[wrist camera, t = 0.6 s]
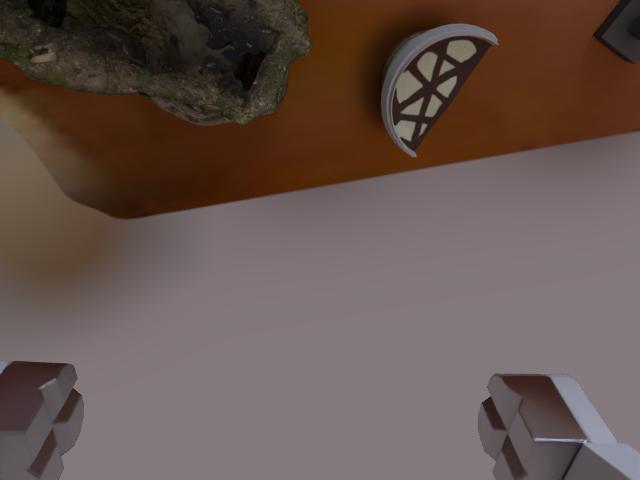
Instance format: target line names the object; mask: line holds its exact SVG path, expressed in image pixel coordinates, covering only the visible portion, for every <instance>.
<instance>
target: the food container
mask: <svg viewBox="0 0 640 480" xmlns="http://www.w3.org/2000/svg"><path fill="white" fill-rule="evenodd" d="M497 41H498V39H497V38H496V36H495V35H494V34H493V33H491V32H489V31H487V30H486V29H483V28H480V27H477V26H474V25H468V24H450V25H444V26H440V27H437V28H434V29H430V30H423V31H417V32H415V33H413V34H411V35H409V36H407V37H405V38H403V39H402V40H401V41H400V42H398V43H397V44H396V45H395V46H394V47H393V49H392V50H391V51H390V53H389V54H388V56H387V58H386V60H385V63H384V66H383V69H382V75H381V84H382V93H381V112H382V118H383V121H384V125H385V127H386V129H387V132H388V134H389V135H390V137H391V138H392V140H393V141H394V143H395V144H396V145H397V146H398V147H399V148H400V149H401V150H403V151H404V152H406V153H407V154H408V155H410V156H412V157H413V156H415V157H417V156H416V153H415V150H416V149H417V147H418V146H419V145H420V143H421V141H422V140H423V138H424V137H425V136H426V134H427V133H428V131H429V130H430V129H431V127H432V126H433V125H434V124H435V122H436V121H437V120H438V118H439V117H440V116H441V115H442V113H443V112H444V111H445V110H446V109H447V107H448V106H449V105H450V104H451V102H452V101H453V99H454V98H455V96H456V95H457V93H458V92H459V90H460V89H461V87H462V86H463V84H464V83H465V81H466V80H467V78H468V77H469V75H470V74H471V72H472V71H473V70H474V68H475V67H476V65H477V64H478V63H479V61H480V60H481V59H482V57H483V56H484V54H485V53H486V52H487V50H488V49H489V48H490V46H491V45H492V44H494V45H499V44H498V43H496V42H497Z"/></svg>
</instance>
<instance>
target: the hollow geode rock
mask: <svg viewBox="0 0 640 480" xmlns="http://www.w3.org/2000/svg"><path fill="white" fill-rule="evenodd" d="M307 33H308V16H307V14H306V12H305V11H304V10H303V9H302V7H301V6H300V4H299V3H298V2H297V0H0V57H1V58H6V59H8V60H10V61H11V62H12V63H13V64H14V65H16V66H17V67H18V68H20V69H21V70H22V71H23V72H24V73H25V74H26V75H27V76H28V77H30V78H32V79H33V80H37V81H44V82H47V83H49V84H51V85H63V86H65V87H66V88H69V89H72V90H75V91H79V92H86V93H96V94H110V95H125V94H128V93H132V92H133V93H139V94H141V95H143V96H145V97H147V98H151V99H152V100H153V102H154V103H155V104H156V105H157V106H159V107H160V108H161V109H162V110H165V111H168V112H171V113H172V114H173V115H175V116H178V117H180V118H182V119H184V120H186V121H188V122H191V123H194V124H197V125H204V126H213V125H217V124H223V123H227V122H237V123H239V124H241V125H242V124H247V123H250V122H251V121H252V120H253V119H254V118H257V117H259V116H263V115H267V114H270V113H273V112H275V111H276V110H277V109H278V107H279V106H280V103H281V102H282V101H283V99H284V97H285V94H286V92H287V86H288V76H289V66H290V64H291V63H292V62H293V61H295V60H296V59H297V58H298V57H300V56H302V55H304V56H305V55H307V54H308V52H309V50H310V49H311V48H312V47H313V46H314V45H313V42H312V41H311V40H310V39H309V38H308V37H307V36H306V35H307Z"/></svg>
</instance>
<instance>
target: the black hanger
mask: <svg viewBox="0 0 640 480" xmlns="http://www.w3.org/2000/svg"><path fill="white" fill-rule="evenodd" d="M594 36H595V37H596V38H597V39H599V40H600V41H601V42H602V43H604V44H605V45H606V46H608V47H609V48H610V49H611V50H613V51H614V52H615V53H616V54H618V55H619V56H620V57H622V58H623V59H624V60H625V61H627V62H630V63H633V64H636V62H637V61H638V60H639V59H640V0H622V1H621V2H620V3H619V4H618V6H617V7H616V8H615V9H614V11H613V12H612V13H611V14H610V16H609V17H608V18H607V19H606V21H605V22H604V23H603V24H602V26H601V27H600V28H599V29H598V31H597V32H596V33H595V34H594Z"/></svg>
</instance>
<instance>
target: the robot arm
mask: <svg viewBox="0 0 640 480" xmlns="http://www.w3.org/2000/svg"><path fill="white" fill-rule="evenodd" d="M76 380H77V375H76V372H75V368H74V365H71V364H66V363H45V362H25V361H0V480H59V478H60V476H61V473H62V471H63V469H64V466H63V463H62V459H61V456H62V455H63V454H64V453H66V452H67V451H68V450H70V449H71V448H72V447H73V446H74V445H75V443H76V440H77V438H78V436H79V434H80V431H81V426H82V421H83V417H84V404H83V400H82V395H81V394H80V393H78V392H77V391H76V390H75V389H74V388H73V386H74V384H75V382H76ZM487 388H488V390H489V393H490V395H491V396H490V397H489V398H488V399H486V400H485V401H484V402H482V404H481V407H480V411H479V414H478V430H479V435H480V440H481V442H482V445H483V448H484V450H485V452H486V453H487V454H489V455H490V456H491V457H492V458H493V459H494V460H496V464H495V466H494V469H493V474H494V476H495V479H496V480H640V453H639V452H637V451H636V450H634V449H633V448H632V447H630V446H629V445H627V444H621V443H618V442H617V441H616V439H615V438H614V436H613V435H612V433H611V432H610V430H609V429H608V427H607V426H606V424H605V423H604V421H603V420H602V418H601V417H600V415H599V414H598V413H597V411H596V410H595V408H594V407H593V405H592V404H591V402H590V401H589V399H588V398H587V396H586V395H585V393H584V392H583V390H582V389H581V388H580V386H579V385H578V383H577V382H576V380H575V379H574V378H573V377H571V376H570V375H554V374H544V375H541V374H494V375H493V376H492V377H491V379H490V381H489V384H488V387H487Z"/></svg>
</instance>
